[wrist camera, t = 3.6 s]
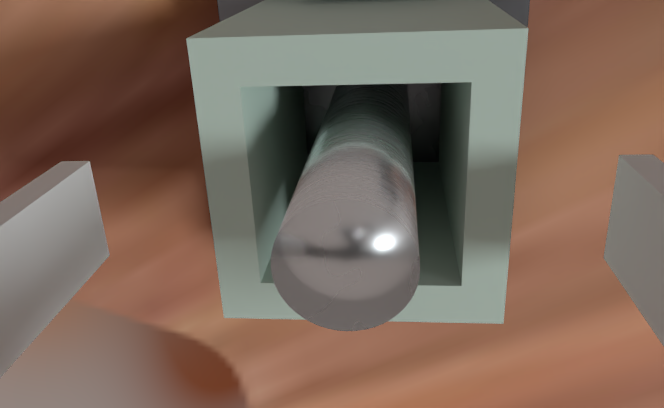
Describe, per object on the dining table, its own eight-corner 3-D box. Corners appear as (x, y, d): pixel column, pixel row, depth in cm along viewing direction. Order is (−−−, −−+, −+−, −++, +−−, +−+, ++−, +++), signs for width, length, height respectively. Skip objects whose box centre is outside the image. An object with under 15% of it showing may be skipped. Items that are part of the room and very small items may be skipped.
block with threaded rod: (221, -83, 24) (-35, -109, 10) (527, -98, 23) (745, -154, 9) (254, 229, 30) (120, 504, 16) (501, 230, 29) (608, 530, 14)
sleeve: (267, -1, 24) (186, 38, 15) (475, -9, 23) (528, 28, 14) (282, 188, 27) (223, 317, 18) (466, 187, 26) (503, 323, 17)
